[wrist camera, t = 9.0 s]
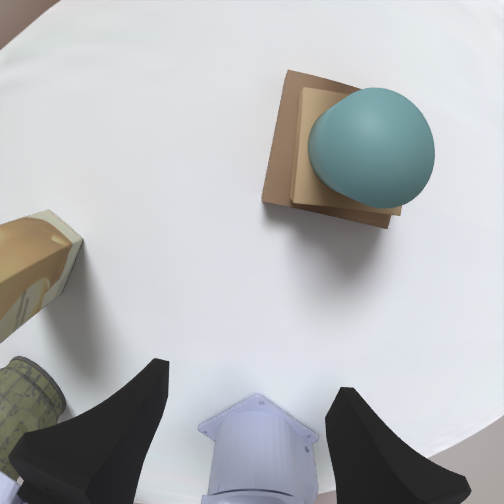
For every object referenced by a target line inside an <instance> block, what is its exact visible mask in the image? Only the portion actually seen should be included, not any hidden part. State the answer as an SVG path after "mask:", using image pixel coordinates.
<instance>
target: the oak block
mask: <svg viewBox="0 0 504 504" xmlns="http://www.w3.org/2000/svg"><path fill="white" fill-rule="evenodd" d="M347 96H349V94H344V93H338V92H333V91H327V90H320V89H314V88H307V87H303V89H302V91H301V92H300V94H299V96H298V107H297V120H296V133H295V145H294V156H293V167H292V178H291V189H290V199H291V200H292V201H293V203H300V204H309V205H319V206H328V207H336V208H345V209H353V210H361V211H368V212H376V213H383V214H390V215H397V216H400V215H401V208H402V206H399V207H395V208H388V209H383V208H375V207H371V206H368V205H365V204H363V203H361V202H358V201H356V200H354V199H352V198H350V197H347V196H345V195H343V194H341V193H338V192H336V191H334V190H332V189H331V188H329V187H328V186H326V185H325V184H324V183H323V182H322V181H321V180H320V179H319V177H318V176H317V175H316V173H315V172H314V170H313V168H312V165H311V163H310V160H309V155H308V138H309V134H310V131H311V128H312V126H313V124H314V123H315V121H316V120H317V118H318V117H319V116H320V115H321V114H322V113H324V112H325V111H326V110H328V109H329V108H331V107H332V106H334V105H335V104H337V103H338V102H340V101H341V100H343V99H344V98H346V97H347Z"/></svg>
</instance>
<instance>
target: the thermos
mask: <svg viewBox="0 0 504 504" xmlns="http://www.w3.org/2000/svg"><path fill="white" fill-rule="evenodd" d="M65 406H66V402H65V398H64V395H63V393H62V392H61V390H60V388H59V387H58V385H57V384H56V383H55V381H54V380H53V379H52V378H51V377H50V375H49V374H48V373H47V372H46V371H45V370H44V369H42V368H41V367H40V366H39V365H37V364H36V363H35V362H33V361H31V360H29V359H28V358H25V357H21V356H17V357H14V358H13V359H12V360H11V361H10V363H9V364H8V365H7V366H6V367H4V368H1V369H0V471H1V472H3V473H4V474H5V475H7V476H8V477H10V478H11V479H13V480H14V481H17V479H18V478H19V476H20V475H19V474H18V473H17V472H16V470H15V469H14V468H13V466H12V465H11V463H10V462H9V458H8V455H9V454H10V452H11V451H12V449H13V448H14V446H15V445H16V443H17V442H18V440H19V439H20V438H21V437H22V435H23V434H24V433H26V432H31V431H35V430H39V429H43V428H47V427H51V426H54V425H56V424H57V420H58V418H59V416H60V414H61V413H63V411H64V410H65Z"/></svg>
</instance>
